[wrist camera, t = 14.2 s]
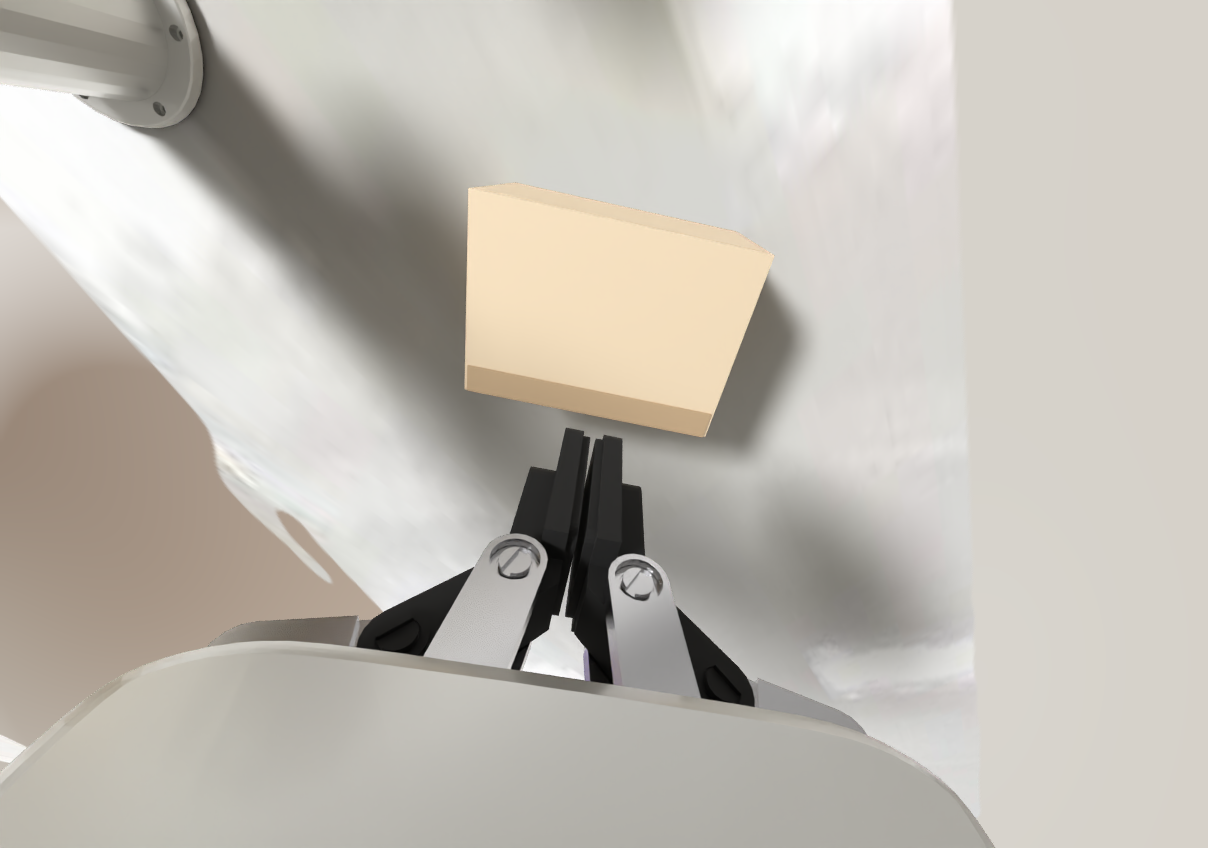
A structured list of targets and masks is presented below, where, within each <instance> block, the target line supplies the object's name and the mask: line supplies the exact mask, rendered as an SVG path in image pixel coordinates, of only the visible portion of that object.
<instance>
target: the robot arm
mask: <svg viewBox="0 0 1208 848" xmlns="http://www.w3.org/2000/svg"><path fill="white" fill-rule="evenodd" d="M202 80H203V58H202V51H201V46H200V41H199V36H198V32H197V29H196V26H195V23H194V20H193V17H192V14H191V11H190V9H189V7H188V5H187V2H186V0H0V84H1V85H9V86H16V87H24V88H31V89H39V90H47V91H54V92H62V93H69V94H72V95H74V96H75V97H76V98H77V99H78V100H80V101H81V102H83V103H84V104H86V105H87V106H89V107H90V108H92V109H93V110H95V111H96V112H98V113H100V114H102V115H104V116H106V117H108V118H110V119H112V120H114V121H117V122H120V123H124V124H127V125H130V126H137V127H146V128H164V127H168V126H171V125H175V124H177V123H179V122H180V121H182V120H183V119H185V118H186V117H187V116H188V115H189V114H190V112H191V111H192V110H193V108H194V107H195V105H196V103H197V100H198V98H199V95H200V93H201V87H202ZM583 435H584V431H581V430H575V429H570V428H566V430H565V434H564V439H563V443H562V448H561V452H560V457H559V461H558V466H557V470H556V471H553V470H547V469H542V468H537V467H531V468H530V470H529V473H528V477H527V480H526V483H525V486H524V490H523V493H522V496H521V499H520V503H519V506H518V509H517V512H516V516H515V519H514V522H513V525H512V528H511V532H510V534H506V535H503V536H500V537H498V538H496V539H495V540H493V541H491V542H490V543H489V545H488V546H487V547H486V548H485V550H484V551H483V553H482V555H481V557H480V558H479V560H478V562H477V563H476V565H475V567H473V568H471V569H469V570H467V571H465V572H463V573H461V574H459V575H457V576H455V577H453V578H451V579H449V580H447V581H445V582H443V583H441V584H439V585H437V586H435V587H433V588H431V589H429V590H427V591H425V592H423V593H421V594H418V595H416V596H414V597H412V598H410V599H408V600H406V601H404V602H402V603H400V604H398V605H396V606H394V607H392V608H390V609H388V610H386V611H384V612H383V613H381V614H380V615H378V616H376V617H375V618H373V619H372V620H359V618H358V616H343V617H326V618H308V619H291V620H273V621H256V622H251V623H246V624H241V625H239V626H237V627H234V628H232V629H230V630H228V631H226V632H224V633H223V634H221V635H220V636H219V637H218V638H216V639H215V640H214V641H212V642H211V643H210V644H209V645H208V647H206V648H202V649H197V650H193V651H188V652H184V653H181V654H177V655H173V656H170V657H166V658H163V659H160V660H157V661H154V662H151V663H148V664H145V665H143V666H141V667H139V668H136V669H134V670H132V671H130V672H127V673H125V674H123V675H122V676H120V677H118V678H117V679H115V680H113V681H111V682H110V683H108V684H106V685H105V686H103V687H102V688H100V689H99V690H97V691H96V692H95V693H93V694H92V695H90V696H89V697H88V698H86V699H85V700H84V701H82V702H81V703H80V704H78V705H77V706H76V707H74V708H73V709H72V710H71V711H70V712H69V713H67V714H66V715H64V716H63V717H62V718H61V719H60V720H59V721H57V722H56V723H55V724H54V725H53V726H52V727H50V728H49V729H48V730H47V731H46V732H45V733H43V734H42V735H41V736H40V737H39V738H38V739H37V740H35V741H34V742H33V743H32V744H31V745H30V746H28V747H27V748H26V749H25V750H24V751H23V752H22V753H21V754H19V755H18V756H17V757H16V758H15V759H14V760H13V761H12V762H11V763H10V764H9V765H7V766H6V767H5V768H4V769H3V770H2V771H1V772H0V848H995V847H994V845H993V844H992V842H991V840H990V839H989V837H988V836H987V834H986V833H985V831H984V830H983V828H982V827H981V825H980V824H979V822H978V821H977V820H976V818H975V817H974V816H973V814H972V813H971V812H970V810H969V809H968V808H967V806H966V805H965V804H964V803H963V801H962V800H961V799H960V798H959V797H958V796H957V794H956V793H955V792H954V791H953V790H952V789H951V788H949V787H948V786H947V785H946V784H945V783H944V782H943V781H942V780H941V779H940V778H938V777H937V776H936V775H934V774H933V773H932V772H930V771H929V770H928V769H927V768H925V767H924V766H922V765H921V764H919V763H918V762H916V761H915V760H913V759H912V758H910V757H908V756H907V755H905V754H903V753H901V752H899V751H898V750H896V749H894V748H892V747H890V746H889V745H887V744H885V743H883V742H881V741H879V740H877V739H875V738H872V737H870V736H868V735H867V734H866V733H865V731H864V730H863V728H862V727H861V726H860V725H859V724H858V723H857V722H856V721H855V720H854V719H852V718H851V717H850V716H848V715H846V714H845V713H843V712H841V711H839V710H837V709H834V708H832V707H829V706H827V705H824V704H822V703H819V702H817V701H814V700H812V699H809V698H807V697H804V696H802V695H799V694H797V693H794V692H792V691H789V690H787V689H784V688H782V687H779V686H777V685H774V684H771V683H769V682H766V681H764V680H761V679H759V678H758V679H757V680H756V682H754V681H751V680H749V679H747V677H746V676H745V674H744V673H743V672H742V671H741V670H740V668H739V667H738V666H737V665H736V664H735V663H734V662H733V661H732V660H731V659H730V658H729V657H728V656H727V655H726V654H725V653H724V652H723V651H722V650H721V649H719V648H718V647H717V646H716V645H715V644H714V643H713V642H712V641H711V640H710V639H709V638H708V637H707V636H706V635H705V634H704V633H703V632H702V631H701V630H700V629H699V628H698V627H697V626H696V625H695V624H694V623H693V622H692V621H691V620H690V619H689V618H688V617H687V616H686V615H685V614H684V613H683V612H682V611H681V610H680V609H679V608H678V607H677V606H676V605H675V601H674V597H673V594H672V590H671V586H670V582H669V579H668V577H667V575H666V573H665V571H664V570H663V569H662V568H661V566H660V565H659V564H657V563H656V562H655V561H653V560H652V559H650V558H648V557H645V549H644V529H643V510H642V491H641V487H639V486H634V485H628V484H623V483H622V438H617V437H612V436H606V435H604V436H603V440H601V439H596V440H595V444H594V448H593V452H592V457H591V461H590V465H589V470H588V474H587V478H586V483H585V477H586V469H587V461H588V452H589V444H590V437H586V436H583ZM584 485H585V487H584ZM572 558H573V559H572ZM571 563H572V567H571ZM570 567H571V574H570V582H569V589H568V597H567V605H566V612H565V617H570V618H573V619H572V628H571V631H572V632H574V634H575V635H576V637H577V638H578V639H579V640H580V642H581V643H582V644H583V645H584V654H583V660H584V675H585V680H578V679H572V678H565V677H558V676H552V675H545V674H538V673H532V672H525V671H522V670H523V667H524V664H525V662H526V659H527V656H528V653H529V650H530V647H531V642H532V641H533V640H534V639H536V638H537V637H539V636H540V635H542V634H543V633H544V632H546V631H547V630H549V625H550V621H551V616H552V615H558V616H559V612H560V608H561V604H562V600H563V596H564V592H565V587H566V583H567V579H568V575H569V571H570Z"/></svg>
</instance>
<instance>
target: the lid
mask: <svg viewBox="0 0 1208 848" xmlns="http://www.w3.org/2000/svg"><path fill="white" fill-rule="evenodd" d="M774 256H775V255H773V254H770V253H765V252H761V251H756V250H752V249H747V248H743V247H738V246H734V245H729V244H725V243H720V242H715V241H711V240H706V239H702V238H697V237H693V236H688V235H684V234H679V233H675V232H670V231H666V230H661V229H656V228H652V227H647V226H643V225H638V224H634V223H629V222H625V221H620V220H616V219H611V218H607V217H602V216H597V215H593V214H588V213H584V212H579V211H575V210H570V209H566V208H561V207H557V206H552V205H548V204H543V203H538V202H534V201H529V200H525V199H520V198H516V197H511V196H507V195H502V194H498V193H493V192H489V191H484V190H479V189H475V188H468V236H467V288H466V339H465V389H467V391H472V392H477V393H482V394H487V395H492V396H497V397H502V398H507V399H512V400H517V401H522V402H527V403H532V404H537V405H542V406H547V407H552V408H557V409H562V410H567V411H572V412H577V413H582V414H587V415H593V416H598V417H603V418H608V419H613V420H618V421H623V422H628V423H633V424H638V425H643V426H648V427H653V428H658V429H663V430H668V431H673V432H678V433H683V434H688V435H693V436H698V437H705V436H706V433H707V431H708V428H709V426H710V423H711V420H712V418H713V415H714V413H715V410H716V407H717V405H718V402H719V400H720V397H721V394H722V392H723V389H724V386H725V384H726V381H727V379H728V376H729V373H730V371H731V368H732V366H733V363H734V360H735V358H736V355H737V353H738V350H739V347H740V345H741V342H742V340H743V337H744V334H745V332H746V329H747V326H748V324H749V321H750V319H751V316H752V313H753V311H754V308H755V306H756V303H757V300H758V298H759V295H760V293H761V290H762V287H763V285H764V282H765V279H766V277H767V274H768V272H769V269H770V266H771V264H772V261H773V259H774Z"/></svg>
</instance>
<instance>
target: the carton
mask: <svg viewBox="0 0 1208 848" xmlns="http://www.w3.org/2000/svg"><path fill="white" fill-rule="evenodd" d="M474 188H475V189H479V190H484V191H489V192H493V193H498V194H502V195H507V196H511V197H516V198H520V199H525V200H529V201H534V202H538V203H543V204H548V205H552V206H557V207H561V208H566V209H570V210H575V211H579V212H584V213H588V214H593V215H597V216H602V217H607V218H611V219H616V220H620V221H625V222H629V223H634V224H638V225H643V226H647V227H652V228H656V229H661V230H666V231H670V232H675V233H679V234H684V235H688V236H693V237H697V238H702V239H706V240H711V241H715V242H720V243H725V244H729V245H734V246H738V247H743V248H747V249H752V250H756V251H761V252H765V253H770V252H768V251H767V250H765V249H764V248H762V247H760V246H759V245H757V244H756V243H754V242H752V241H751V240H749V239H748V238H746V237H744V236H743V235H741V234H740V233H738V232H736V231H731V230H727V229H722V228H718V227H713V226H709V225H704V224H700V223H695V222H691V221H686V220H682V219H677V218H673V217H668V216H664V215H659V214H655V213H650V212H646V211H641V210H637V209H632V208H628V207H623V206H619V205H614V204H610V203H605V202H601V201H596V200H592V199H587V198H583V197H578V196H574V195H569V194H565V193H560V192H556V191H551V190H547V189H542V188H538V187H533V186H529V185H524V184H520V183H507V184H499V185H490V186H482V187H474Z"/></svg>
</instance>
